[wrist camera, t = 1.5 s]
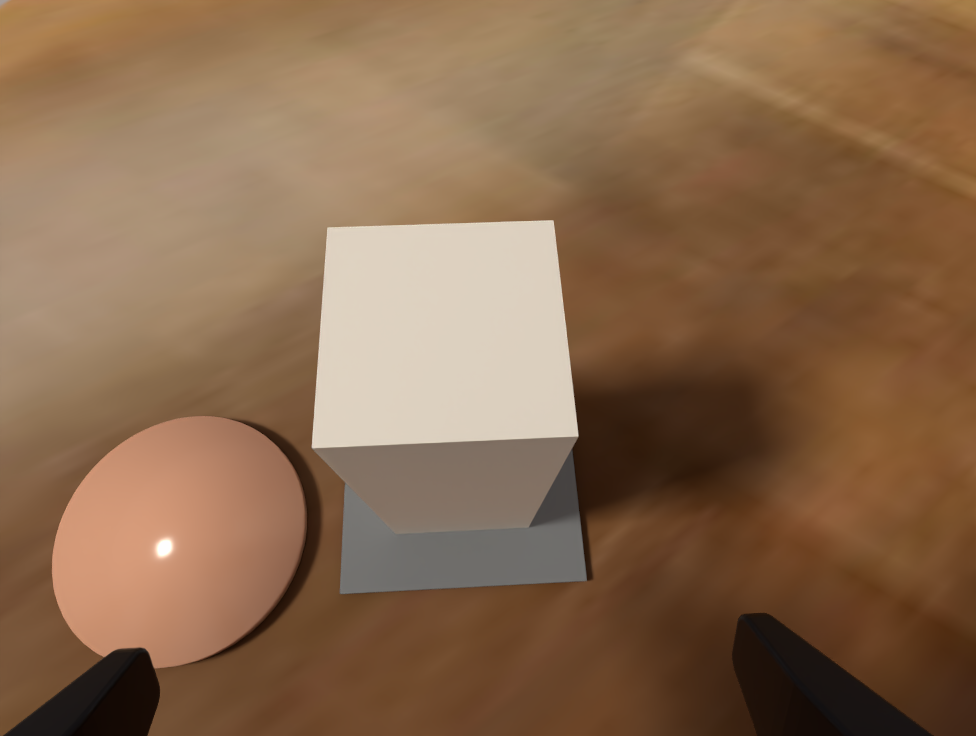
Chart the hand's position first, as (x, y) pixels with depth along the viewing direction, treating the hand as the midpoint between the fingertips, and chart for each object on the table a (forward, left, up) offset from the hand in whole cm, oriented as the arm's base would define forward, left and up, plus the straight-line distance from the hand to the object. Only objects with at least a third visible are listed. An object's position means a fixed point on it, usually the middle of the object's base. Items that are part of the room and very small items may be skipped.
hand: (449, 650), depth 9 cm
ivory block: (+3, -5, -13) cm, 14 cm away
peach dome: (+11, +2, -13) cm, 17 cm away
